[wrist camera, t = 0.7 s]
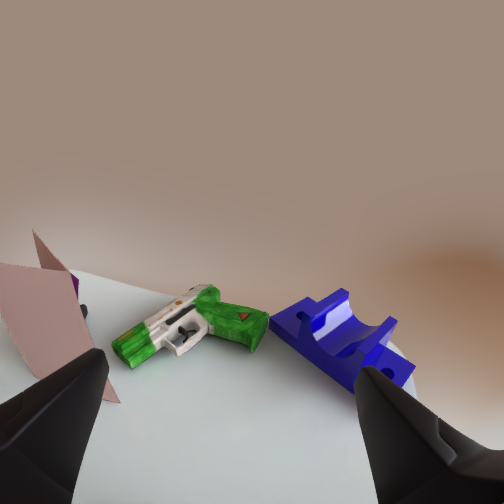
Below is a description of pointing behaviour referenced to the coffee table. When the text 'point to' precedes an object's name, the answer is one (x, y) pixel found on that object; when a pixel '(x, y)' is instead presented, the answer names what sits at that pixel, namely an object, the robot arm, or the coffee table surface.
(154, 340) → the handgun
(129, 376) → the coffee table surface
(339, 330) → the mounting bracket
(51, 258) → the greeting card
